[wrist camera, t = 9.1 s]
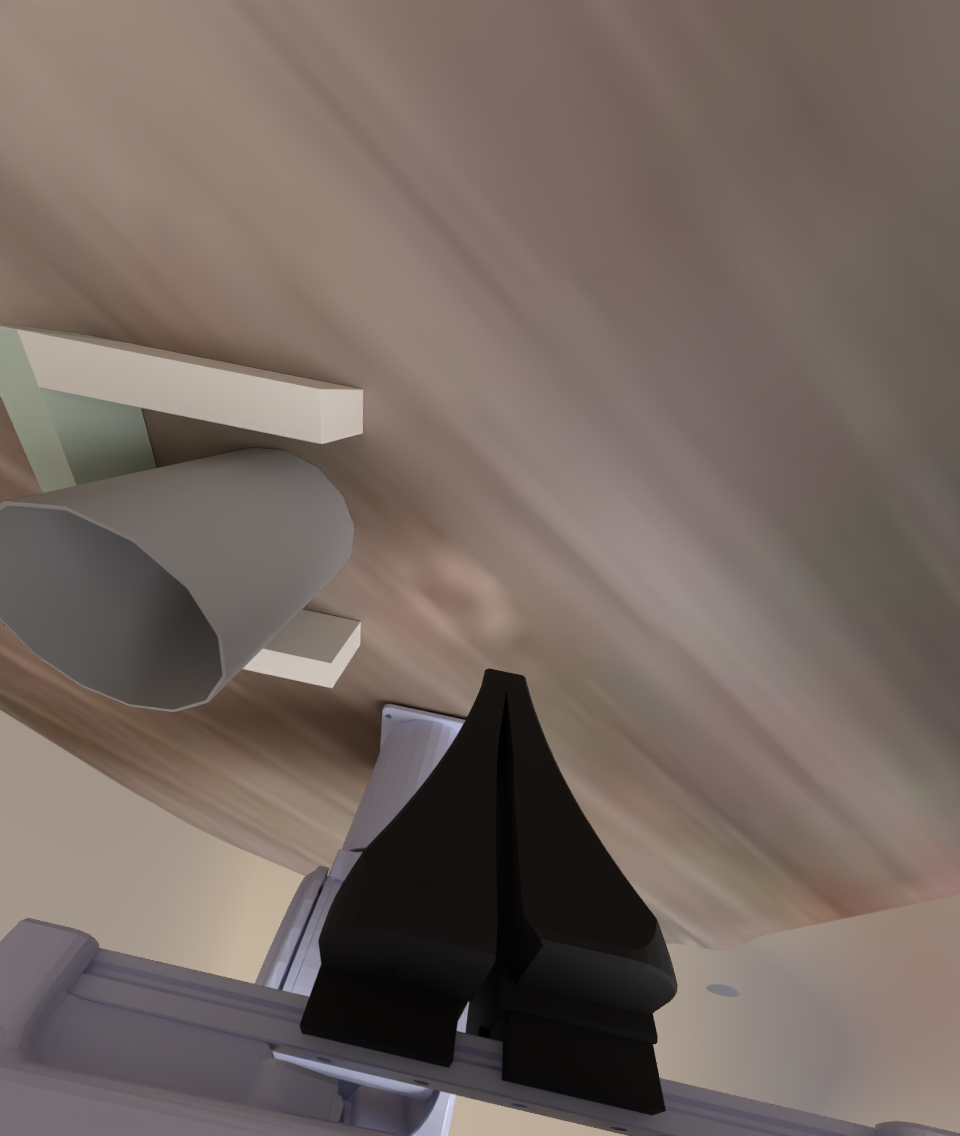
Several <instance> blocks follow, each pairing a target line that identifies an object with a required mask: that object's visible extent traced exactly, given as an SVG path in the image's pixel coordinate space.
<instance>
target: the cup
mask: <svg viewBox="0 0 960 1136" xmlns="http://www.w3.org/2000/svg"><path fill="white" fill-rule="evenodd" d="M353 536H354V525H353V522H352V520H351V517H350V514H349V511H348V509H347V506H346V503H345V500H344V497H343V495H342V494H341V493H340V492H339V491H338V490H337V489H336V487H335V486H334V485H333V484H332V483H331V482H330V481H329V479H328V478H327V477H326V476H325V475H324V474H323V473H322V471H321V470H320V469H319V468H318V467H316V466H314V465H312V464H311V463H309V462H307V461H305V460H303V459H301V458H299V457H297V456H296V455H294V454H292V453H290V452H288V451H286V450H280V449H265V448H248V449H243V450H239V451H234V452H229V453H225V454H220V455H215V456H211V457H206V458H202V459H197V460H192V461H188V462H183V463H178V464H174V465H169V466H165V467H160V468H155V469H151V470H146V471H141V472H137V473H132V474H128V475H123V476H118V477H114V478H109V479H104V480H100V481H95V482H91V483H86V484H81V485H77V486H72V487H67V488H63V489H58V490H54V491H49V492H44V493H40V494H35V495H30V496H26V497H21V498H17V499H12V500H7V501H4V502H3V503H1V504H0V621H1V622H2V623H3V624H4V625H5V626H6V627H7V628H8V629H9V630H10V631H11V632H12V633H13V634H14V635H15V636H16V637H17V638H18V639H19V640H20V641H21V643H22V644H23V645H24V646H25V647H26V648H27V649H28V650H29V651H30V652H31V653H32V654H34V655H35V656H37V657H38V658H40V659H41V660H43V661H44V662H45V663H47V664H48V665H50V666H51V667H53V668H54V669H56V670H57V671H59V672H60V673H62V674H63V675H65V676H66V677H68V678H69V679H71V680H72V681H74V682H75V683H77V684H78V685H80V686H81V687H84V688H86V689H89V690H91V691H94V692H96V693H99V694H101V695H104V696H106V697H108V698H111V699H113V700H116V701H118V702H121V703H123V704H126V705H128V706H132V707H139V708H147V709H154V710H162V711H169V712H177V711H180V710H184V709H187V708H191V707H194V706H198V705H201V704H205V703H208V702H209V701H210V700H211V699H212V698H213V697H214V696H215V695H216V694H217V693H218V692H219V691H220V690H221V689H222V688H223V687H224V686H225V685H226V684H227V683H228V682H230V681H231V680H232V679H233V678H234V677H235V676H236V675H237V674H238V673H239V672H240V671H241V670H242V669H243V668H244V667H245V666H246V665H247V664H248V663H249V662H250V661H251V660H252V659H253V658H254V657H255V656H256V655H257V654H258V653H259V652H260V651H261V650H262V649H263V648H264V647H265V646H266V645H267V644H268V643H269V642H270V641H271V640H272V639H273V638H274V637H275V636H276V635H277V634H278V633H279V632H280V631H281V630H282V629H283V628H284V627H285V626H286V625H287V624H288V623H289V622H290V621H291V620H292V619H293V618H294V617H295V616H296V615H297V614H298V613H299V612H300V611H301V610H302V609H303V608H304V607H305V606H306V605H307V604H308V603H309V602H310V601H311V600H312V599H313V598H314V597H315V596H316V595H317V594H318V593H319V592H320V591H321V590H322V589H323V588H324V587H325V586H326V585H327V584H328V583H329V582H330V581H331V580H332V579H333V578H334V577H335V576H336V575H337V574H338V572H339V571H340V570H341V568H342V567H343V566H344V564H345V563H346V562H347V561H348V559H349V558H350V557H351V555H352V545H353Z"/></svg>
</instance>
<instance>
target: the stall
mask: <svg viewBox="0 0 960 1136" xmlns="http://www.w3.org/2000/svg"><path fill="white" fill-rule="evenodd" d="M0 396H1V398H2V400H3V403H4V405H5V407H6V410H7V412H8V414H9V417H10V419H11V421H12V423H13V426H14V428H15V430H16V433H17V435H18V437H19V440H20V442H21V444H22V446H23V449H24V451H25V453H26V456H27V458H28V460H29V463H30V465H31V467H32V470H33V472H34V474H35V476H36V479H37V481H38V483H39V486H40V488H41V490H42V493H44V492H49V491H54V490H58V489H63V488H67V487H72V486H77V485H81V484H86V483H91V482H95V481H100V480H104V479H109V478H114V477H118V476H123V475H128V474H132V473H137V472H141V471H146V470H151V469H155V468H157V467H156V463H155V459H154V455H153V452H152V448H151V444H150V440H149V437H148V433H147V429H146V425H145V421H144V418H143V414H142V410H141V408H146V409H150V410H155V411H160V412H165V413H170V414H175V415H180V416H185V417H190V418H195V419H200V420H205V421H210V422H215V423H220V424H225V425H230V426H235V427H240V428H245V429H250V430H255V431H259V432H264V433H269V434H274V435H279V436H284V437H289V438H294V439H299V440H304V441H309V442H314V443H319V444H324V443H328V442H332V441H336V440H339V439H343V438H347V437H351V436H355V435H358V434H362V433H363V389H358V388H353V387H348V386H342V385H337V384H332V383H327V382H322V381H317V380H312V379H307V378H302V377H297V376H292V375H287V374H282V373H277V372H272V371H267V370H262V369H257V368H252V367H247V366H242V365H237V364H231V363H226V362H221V361H216V360H211V359H206V358H201V357H196V356H191V355H186V354H181V353H176V352H171V351H166V350H161V349H156V348H151V347H146V346H141V345H136V344H131V343H126V342H120V341H115V340H110V339H105V338H100V337H95V336H90V335H85V334H78V333H70V332H62V331H55V330H47V329H39V328H31V327H24V326H16V325H8V324H0ZM360 628H361V622H360V621H355V620H351V619H346V618H341V617H336V616H332V615H327V614H322V613H317V612H313V611H308V610H303V609H302V610H301V611H300V612H299V613H298V614H297V615H296V616H295V617H294V618H293V619H292V620H291V621H290V622H289V623H288V624H287V625H286V626H285V627H284V628H283V629H282V630H281V631H280V632H279V633H278V634H277V635H276V636H275V637H274V638H273V639H272V640H271V641H270V642H269V643H268V644H267V645H266V646H265V647H264V648H263V649H262V650H261V651H260V652H259V653H258V654H257V655H256V656H255V657H254V658H253V659H252V660H251V661H250V662H249V663H248V664H247V665H246V666H245V667H244V668H243V669H245V670H250V671H255V672H259V673H264V674H269V675H273V676H278V677H283V678H287V679H292V680H296V681H301V682H306V683H310V684H315V685H320V686H324V687H329V688H333V686H334V685H335V683H336V681H337V680H338V678H339V677H340V675H341V674H342V672H343V671H344V669H345V667H346V666H347V664H348V663H349V661H350V660H351V658H352V657H353V655H354V654H355V652H356V650H357V649H358V647H359V646H360Z"/></svg>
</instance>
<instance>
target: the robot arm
mask: <svg viewBox="0 0 960 1136" xmlns="http://www.w3.org/2000/svg"><path fill="white" fill-rule="evenodd" d="M328 870H329V868H327V867H324V866H319V867H317V869H316V870H315V871H313V872H312V873H310V874H309V875H307V876H306V877H305V878H304V879H303V880H302V882H301V884H300V886H299V887H298V889H297V892H296V893H295V895H294V897H293V899H292V901H291V904H290V905H289V907H288V910H287V912H286V914H285V916H284V918H283V920H282V923H281V925H280V927H279V929H278V931H277V934H276V936H275V938H274V940H273V942H272V945H271V947H270V950H269V952H268V954H267V956H266V959H265V961H264V963H263V965H262V968H261V970H260V972H259V975H258V977H257V980H256V982H255V984H253V983H248V982H244V981H240V980H235V979H231V978H227V977H223V976H218V975H214V974H210V973H205V972H201V971H197V970H192V969H188V968H184V967H180V966H175V965H171V964H167V963H162V962H158V961H154V960H149V959H145V958H140V957H136V956H132V955H128V954H124V953H119V952H115V951H110V950H106V949H102V948H99V943H98V942H97V941H96V939H95V938H94V937H92V936H91V935H89V934H87V933H85V932H83V931H80V930H77V929H74V928H70V927H65V926H61V925H57V924H52V923H48V922H43V921H39V920H35V919H31V918H27V919H24V920H22V921H20V922H19V923H18V924H17V925H16V926H15V927H14V928H13V929H12V930H11V931H10V932H9V933H8V934H7V935H6V936H5V937H4V939H3V940H2V941H1V942H0V1136H448V1133H449V1128H450V1123H451V1118H452V1114H453V1109H454V1105H455V1100H456V1096H457V1095H458V1096H463V1097H467V1098H471V1099H476V1100H480V1101H484V1102H488V1103H493V1104H497V1105H501V1106H506V1107H509V1108H514V1109H518V1110H523V1111H526V1112H530V1113H535V1114H539V1115H543V1116H548V1117H552V1118H556V1119H560V1120H564V1121H569V1122H573V1123H577V1124H581V1125H586V1126H590V1127H594V1128H599V1129H603V1130H607V1131H611V1132H615V1133H619V1134H624V1135H628V1136H960V1133H955V1132H951V1131H947V1130H942V1129H938V1128H934V1127H929V1126H925V1125H920V1124H916V1123H909V1122H897V1121H895V1122H884V1123H880V1124H876V1126H875V1128H872V1127H868V1126H864V1125H860V1124H855V1123H851V1122H847V1121H842V1120H838V1119H834V1118H829V1117H825V1116H821V1115H817V1114H812V1113H808V1112H804V1111H799V1110H795V1109H791V1108H787V1107H782V1106H778V1105H774V1104H769V1103H765V1102H760V1101H756V1100H752V1099H748V1098H743V1097H739V1096H735V1095H730V1094H726V1093H722V1092H717V1091H713V1090H709V1089H705V1088H700V1087H696V1086H692V1085H688V1084H683V1083H679V1082H675V1081H670V1080H666V1079H662V1078H659V1073H658V1068H657V1063H656V1058H655V1053H654V1048H653V1044H656V1043H657V1032H656V1027H655V1022H654V1017H653V1013H654V1012H655V1011H656V1010H658V1009H659V1008H660V1007H662V1006H664V1005H665V1004H667V1003H668V1002H670V1001H671V999H673V997H674V996H675V994H676V992H677V981H676V977H675V973H674V970H673V966H672V962H671V959H670V955H669V952H668V949H667V946H666V943H665V940H664V938H663V935H662V932H661V929H660V926H659V923H658V921H657V919H656V917H655V916H654V915H653V913H652V912H651V911H650V910H649V908H648V907H647V906H646V904H645V903H644V902H643V900H642V899H641V898H640V896H639V895H638V894H637V892H636V891H635V890H634V888H633V887H632V886H631V884H630V883H629V882H628V880H627V879H626V877H625V876H624V875H623V873H622V872H621V870H620V869H619V867H618V866H617V865H616V863H615V862H614V860H613V859H612V857H611V856H610V854H609V853H608V852H607V850H606V849H605V847H604V845H603V844H602V842H601V841H600V839H599V838H598V836H597V834H596V833H595V831H594V830H593V828H592V826H591V825H590V823H589V822H588V820H587V819H586V817H585V815H584V814H583V812H582V810H581V809H580V807H579V805H578V803H577V802H576V800H575V798H574V796H573V794H572V793H571V791H570V789H569V787H568V785H567V783H566V781H565V779H564V778H563V776H562V774H561V772H560V770H559V767H558V765H557V763H556V761H555V759H554V757H553V754H552V752H551V750H550V748H549V746H548V743H547V741H546V738H545V736H544V733H543V731H542V728H541V726H540V723H539V720H538V718H537V715H536V712H535V709H534V706H533V703H532V700H531V697H530V693H529V690H528V686H527V682H526V678H525V677H524V676H523V675H518V674H513V673H508V672H503V671H499V670H494V669H487V670H485V673H484V677H483V681H482V686H481V688H480V691H479V693H478V696H477V698H476V700H475V702H474V704H473V706H472V708H471V711H470V713H469V715H468V717H467V718H466V720H463V719H458V718H454V717H449V716H444V715H440V714H435V713H430V712H426V711H421V710H416V709H412V708H407V707H403V706H398V705H393V704H386V705H384V708H383V710H382V726H381V743H380V754H379V756H378V759H377V761H376V764H375V766H374V769H373V771H372V774H371V776H370V779H369V782H368V784H367V787H366V789H365V792H364V794H363V797H362V799H361V802H360V804H359V807H358V809H357V812H356V814H355V817H354V819H353V822H352V824H351V827H350V829H349V832H348V834H347V837H346V839H345V842H344V845H343V847H342V849H340V850H339V851H338V853H337V856H336V858H335V861H334V863H333V866H332V868H331V871H330V873H329V876H327V873H328Z"/></svg>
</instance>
